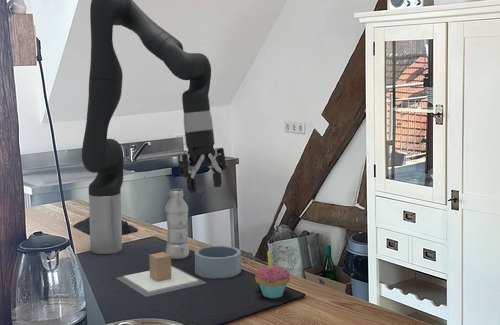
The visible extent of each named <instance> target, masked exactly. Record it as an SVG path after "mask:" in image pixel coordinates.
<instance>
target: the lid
mask: <svg viewBox="0 0 500 325" xmlns="http://www.w3.org/2000/svg"><path fill="white" fill-rule="evenodd" d="M148 259H149V270H147V271H142V272H141V271H140V272H136V273H131V274H125V275H123V278H124V279H125V280H127V281H129V282H130V283H132V284H134V285H135V286H137V287H138V288H140V289H142V290H143V291H145V292H147V293H148V294H149V293H154V292H158V291H163V290H167V289H172V288H176V287H181V286H185V285H190V284H194V283H199V280H197V279H195V278H193V277H191V276H190V275H191V274H190V275H188V274H189V273H188V274H186V273H187V272H186V273H184V272H185V271H184V272H182V271H183V270H182V271H180V270H181V269H180V270H178V269H179V268H178V269H176V268H177V267H176V268H174V267H175V266H174V267H172V266H173V265H172V259H171V255H169V254H167V253H166V252H165V251H161V252H156V253H152V254H149V258H148Z"/></svg>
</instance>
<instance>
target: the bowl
mask: <svg viewBox="0 0 500 325" xmlns="http://www.w3.org/2000/svg"><path fill="white" fill-rule="evenodd" d="M241 264H242V252H241V250H240V248H236V247H234V246H228V245H208V246H202V247H200V248H198V249H196V250H194V271H195V272H194V273H195V275H197V276H199V277H200V278H206V279H214V280H215V279H227V278H228V279H229V278H232V277H235V276H236V277H237V276H238V275H239V274H241V273H242V265H241Z"/></svg>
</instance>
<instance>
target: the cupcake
mask: <svg viewBox="0 0 500 325" xmlns="http://www.w3.org/2000/svg"><path fill="white" fill-rule="evenodd" d="M266 255H267V266H263V267H260V268H259V269H257V271H256V272H255V274H254V276H255V282H256V284H258V285H259V286H260V290H261V293H262V296H263V297H264V298H267V297H268V298H267V299H279V298H281V297H283V294H284V291H285V290H286V287H287V285H288V283H290V282H291V274H290V272H289V271H288V270H287V269H285V268H284V267H283V266H280V265H277V264H274V265H273V264H272V259H271V251H270V248H267V254H266ZM278 297H279V298H278Z"/></svg>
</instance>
